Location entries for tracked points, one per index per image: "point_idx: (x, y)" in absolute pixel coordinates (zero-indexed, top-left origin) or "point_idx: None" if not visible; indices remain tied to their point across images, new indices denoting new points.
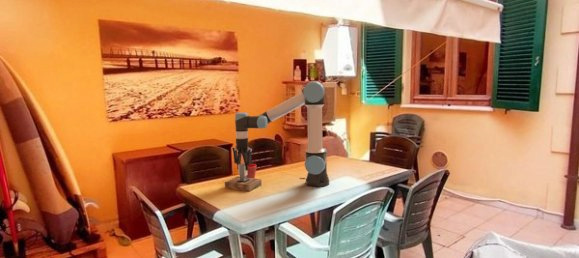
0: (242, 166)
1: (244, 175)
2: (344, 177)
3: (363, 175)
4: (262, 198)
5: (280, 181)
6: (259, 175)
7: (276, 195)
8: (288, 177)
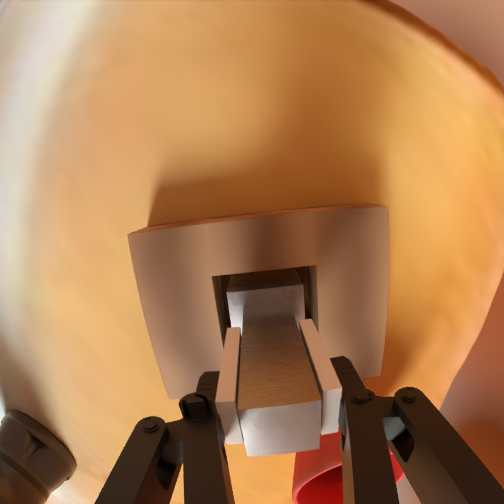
0: (257, 386)
1: (235, 329)
2: None
3: None
4: (27, 171)
5: None
6: None
7: (10, 252)
8: None
